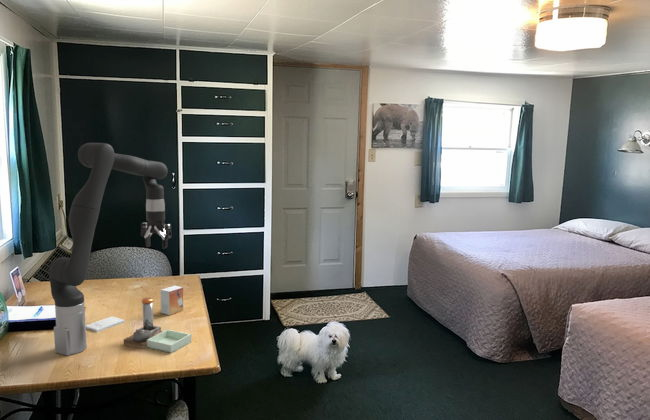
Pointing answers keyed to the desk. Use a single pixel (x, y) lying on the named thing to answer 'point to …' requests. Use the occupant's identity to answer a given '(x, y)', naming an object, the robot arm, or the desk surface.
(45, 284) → the desk surface
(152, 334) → the tensioner bracket
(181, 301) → the small box
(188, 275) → the desk surface
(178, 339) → the tray
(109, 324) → the external hard drive
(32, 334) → the desk surface
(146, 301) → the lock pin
